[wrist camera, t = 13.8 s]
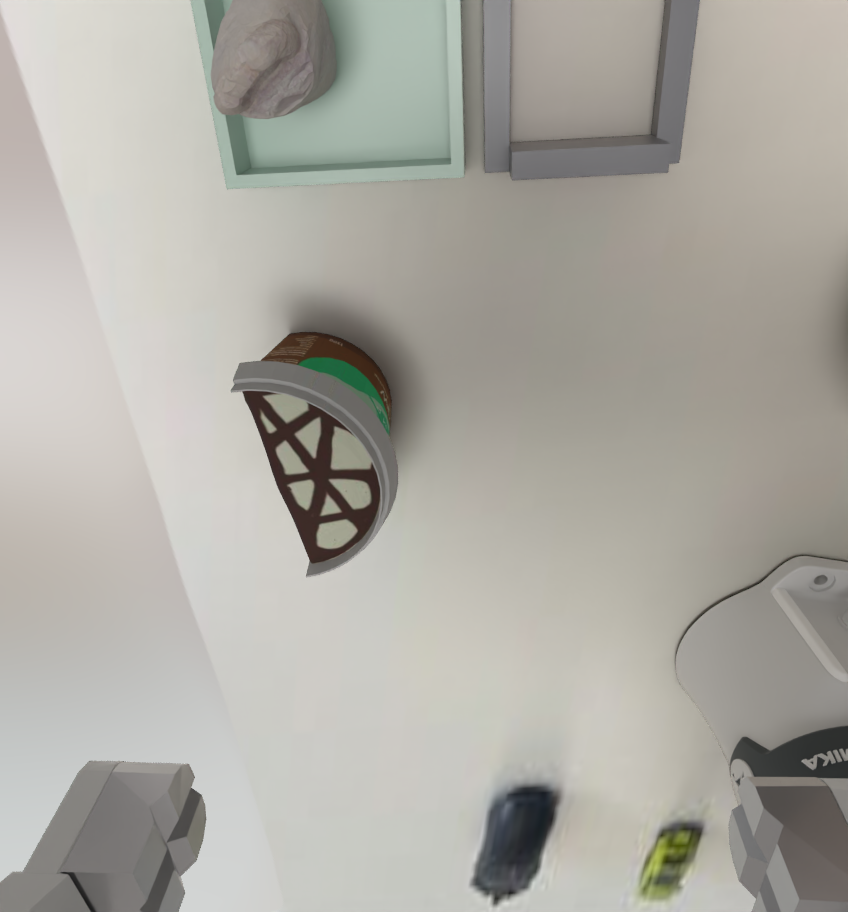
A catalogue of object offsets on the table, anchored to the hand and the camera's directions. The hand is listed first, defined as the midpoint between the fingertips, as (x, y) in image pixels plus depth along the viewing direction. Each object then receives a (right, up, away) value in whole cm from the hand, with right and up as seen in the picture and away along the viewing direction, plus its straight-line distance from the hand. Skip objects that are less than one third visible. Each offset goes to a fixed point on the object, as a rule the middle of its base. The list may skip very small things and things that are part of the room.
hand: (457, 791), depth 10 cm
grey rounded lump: (-6, +24, +22) cm, 33 cm away
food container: (-4, +9, +32) cm, 33 cm away
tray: (-4, +24, +22) cm, 33 cm away
